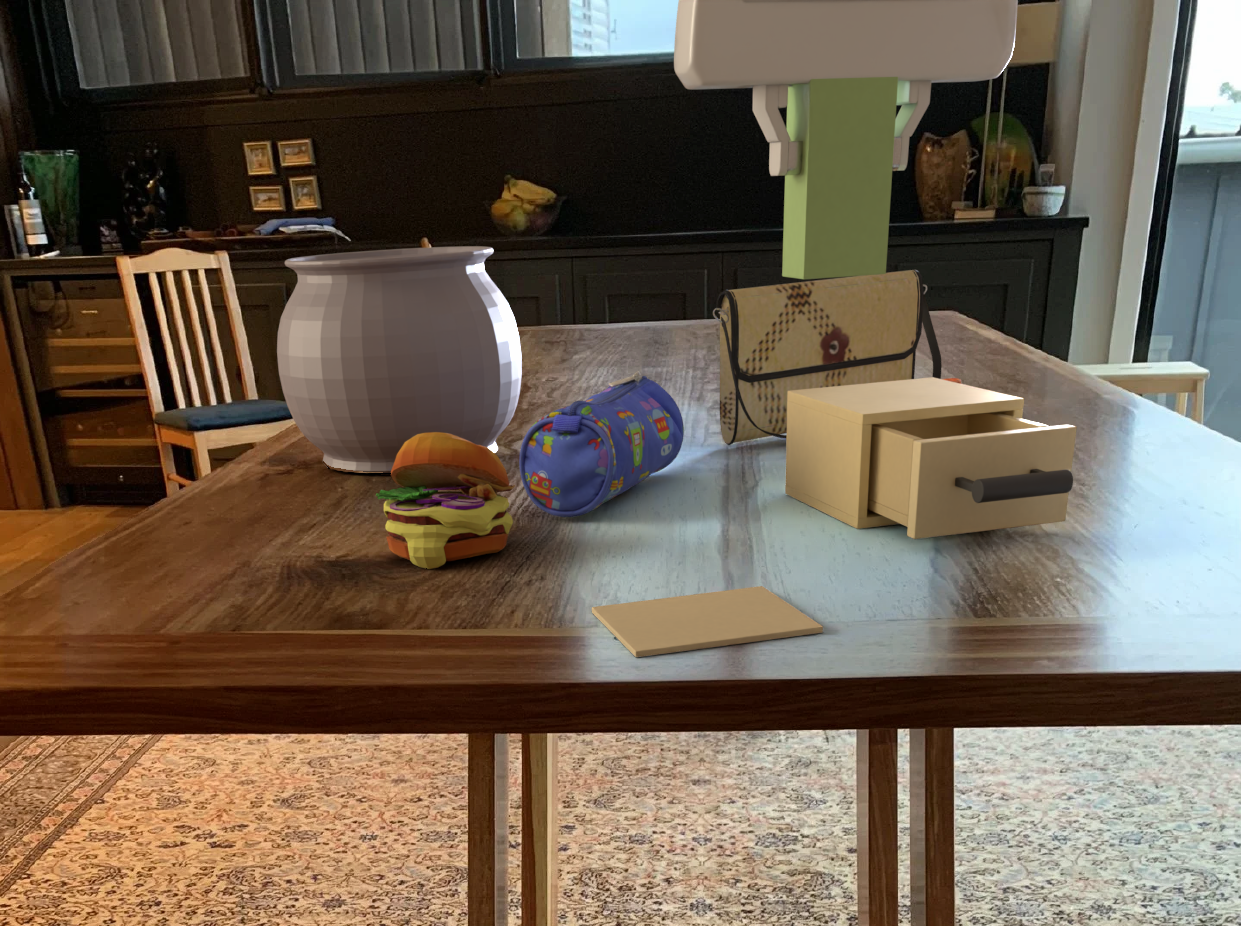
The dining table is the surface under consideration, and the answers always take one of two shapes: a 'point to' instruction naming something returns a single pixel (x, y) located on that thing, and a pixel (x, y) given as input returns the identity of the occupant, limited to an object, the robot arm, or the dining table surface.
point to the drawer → (970, 473)
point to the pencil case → (600, 446)
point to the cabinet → (864, 436)
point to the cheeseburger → (446, 501)
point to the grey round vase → (397, 352)
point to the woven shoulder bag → (815, 343)
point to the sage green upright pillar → (839, 177)
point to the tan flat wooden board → (703, 621)
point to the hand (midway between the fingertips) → (838, 173)
